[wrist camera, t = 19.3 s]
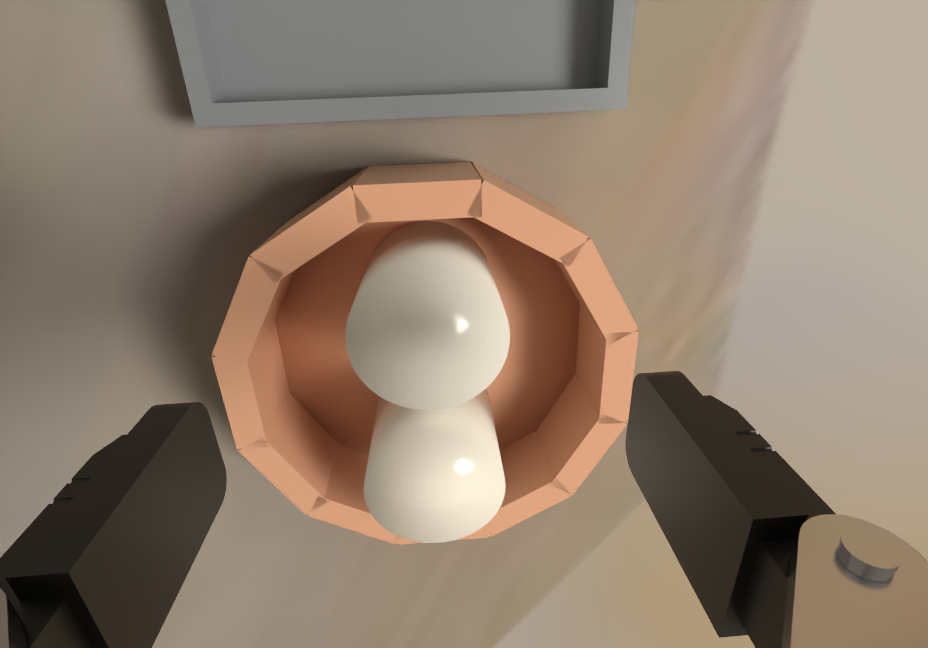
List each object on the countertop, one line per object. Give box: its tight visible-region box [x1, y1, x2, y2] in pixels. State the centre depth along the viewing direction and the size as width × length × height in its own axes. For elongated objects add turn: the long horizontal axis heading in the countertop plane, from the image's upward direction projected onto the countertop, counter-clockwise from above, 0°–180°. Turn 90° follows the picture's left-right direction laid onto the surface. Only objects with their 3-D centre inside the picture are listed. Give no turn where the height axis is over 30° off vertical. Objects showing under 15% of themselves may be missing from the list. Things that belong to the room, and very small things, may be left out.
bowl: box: [212, 162, 639, 545], centre depth 18 cm, size 13×13×4 cm
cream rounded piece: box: [345, 221, 510, 410], centre depth 16 cm, size 4×4×5 cm
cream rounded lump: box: [364, 389, 506, 543], centre depth 18 cm, size 4×4×5 cm
